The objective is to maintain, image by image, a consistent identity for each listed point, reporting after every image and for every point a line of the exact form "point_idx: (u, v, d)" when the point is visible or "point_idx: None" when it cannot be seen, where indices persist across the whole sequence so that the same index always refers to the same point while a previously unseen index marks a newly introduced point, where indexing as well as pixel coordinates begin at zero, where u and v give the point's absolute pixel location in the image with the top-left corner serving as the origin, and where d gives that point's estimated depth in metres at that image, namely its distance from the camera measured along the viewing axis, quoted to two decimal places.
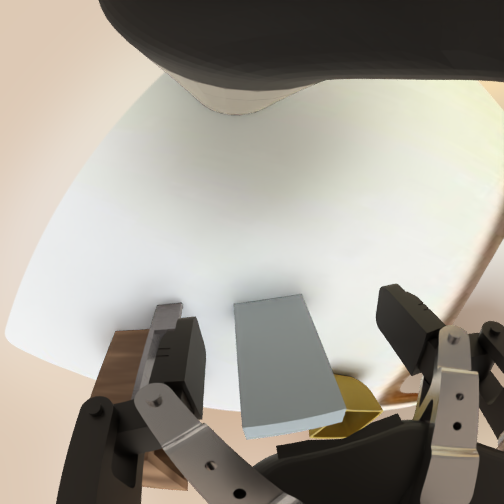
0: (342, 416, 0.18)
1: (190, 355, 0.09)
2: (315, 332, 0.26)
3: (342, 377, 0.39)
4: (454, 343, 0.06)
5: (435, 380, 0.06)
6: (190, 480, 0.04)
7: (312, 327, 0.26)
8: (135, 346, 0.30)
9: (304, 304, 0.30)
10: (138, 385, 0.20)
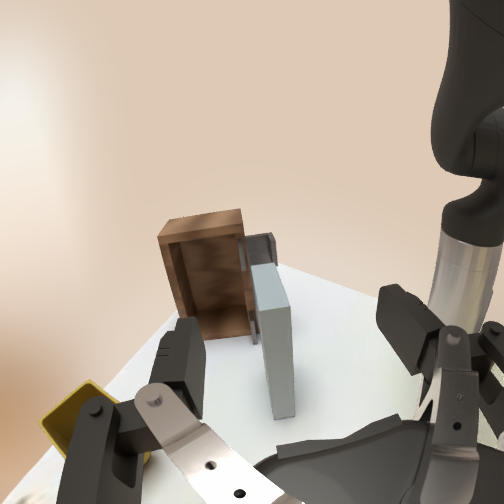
0: (273, 307, 0.21)
1: (190, 355, 0.09)
2: (293, 380, 0.24)
3: None
4: (454, 343, 0.06)
5: (435, 380, 0.06)
6: (190, 480, 0.04)
7: (293, 384, 0.25)
8: None
9: (294, 406, 0.26)
10: None
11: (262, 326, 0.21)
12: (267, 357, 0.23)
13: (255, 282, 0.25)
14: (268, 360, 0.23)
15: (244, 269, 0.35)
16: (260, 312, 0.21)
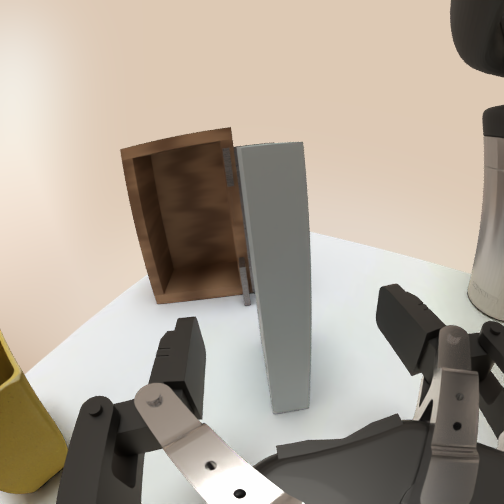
0: (269, 144, 0.10)
1: (190, 355, 0.09)
2: None
3: (51, 471, 0.09)
4: (454, 343, 0.06)
5: (435, 380, 0.06)
6: (190, 480, 0.04)
7: (310, 343, 0.14)
8: None
9: None
10: None
11: (248, 186, 0.10)
12: (260, 270, 0.12)
13: None
14: (262, 278, 0.12)
15: (231, 184, 0.24)
16: (243, 151, 0.10)
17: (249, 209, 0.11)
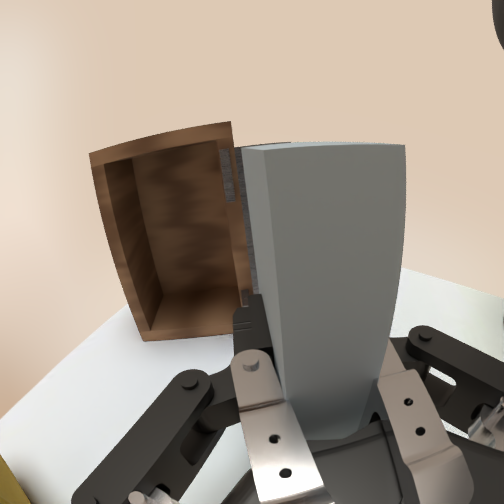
0: (332, 144, 0.04)
1: None
2: None
3: None
4: None
5: (370, 392, 0.06)
6: (248, 446, 0.05)
7: None
8: None
9: None
10: None
11: (280, 249, 0.04)
12: (293, 393, 0.06)
13: (250, 147, 0.08)
14: (295, 402, 0.06)
15: (231, 198, 0.18)
16: (270, 160, 0.04)
17: (280, 299, 0.05)
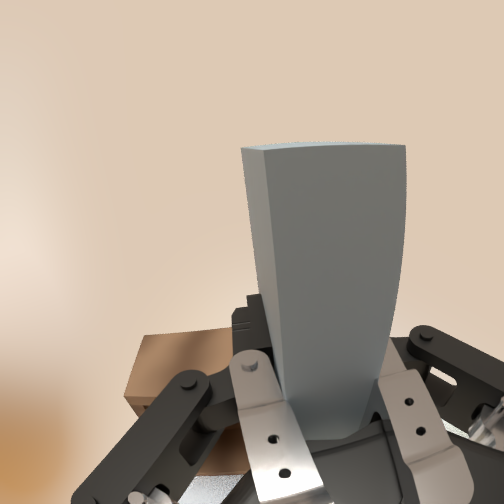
0: (332, 144, 0.04)
1: None
2: None
3: None
4: None
5: (371, 391, 0.06)
6: (247, 446, 0.05)
7: None
8: None
9: None
10: None
11: (279, 250, 0.04)
12: (292, 393, 0.06)
13: (249, 147, 0.08)
14: (295, 402, 0.06)
15: None
16: (270, 160, 0.04)
17: (280, 300, 0.05)
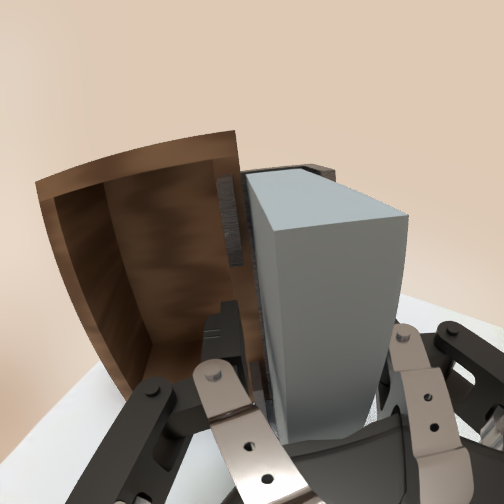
0: (339, 219, 0.04)
1: (239, 334, 0.09)
2: None
3: None
4: (401, 342, 0.07)
5: (395, 384, 0.06)
6: (225, 457, 0.04)
7: None
8: None
9: None
10: None
11: (286, 314, 0.05)
12: (294, 420, 0.06)
13: (256, 185, 0.08)
14: (296, 427, 0.06)
15: (237, 262, 0.11)
16: (279, 240, 0.04)
17: (285, 352, 0.05)
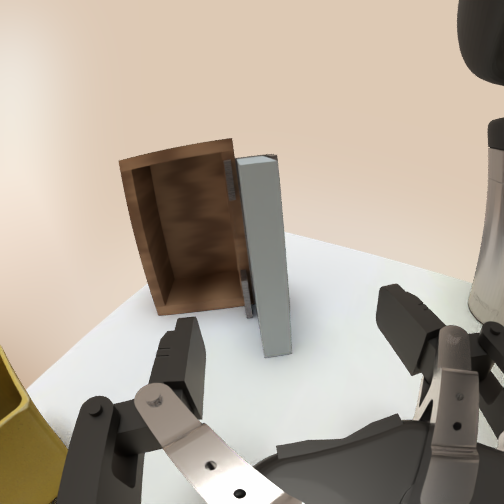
0: (256, 162, 0.17)
1: (190, 355, 0.09)
2: (287, 287, 0.20)
3: None
4: (454, 343, 0.06)
5: (435, 380, 0.06)
6: (190, 480, 0.04)
7: (288, 295, 0.21)
8: None
9: (290, 335, 0.22)
10: None
11: (244, 188, 0.17)
12: (252, 240, 0.19)
13: None
14: (253, 246, 0.19)
15: (232, 197, 0.24)
16: (241, 167, 0.17)
17: (245, 202, 0.18)
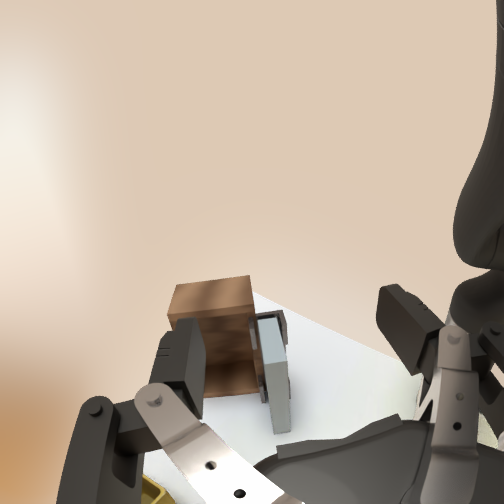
0: (274, 361, 0.27)
1: (190, 355, 0.09)
2: None
3: None
4: (454, 343, 0.06)
5: (435, 380, 0.06)
6: (190, 480, 0.04)
7: (289, 409, 0.31)
8: None
9: None
10: None
11: (266, 373, 0.27)
12: (269, 392, 0.29)
13: (261, 337, 0.31)
14: (270, 394, 0.29)
15: (255, 348, 0.34)
16: (265, 365, 0.27)
17: (266, 378, 0.28)
